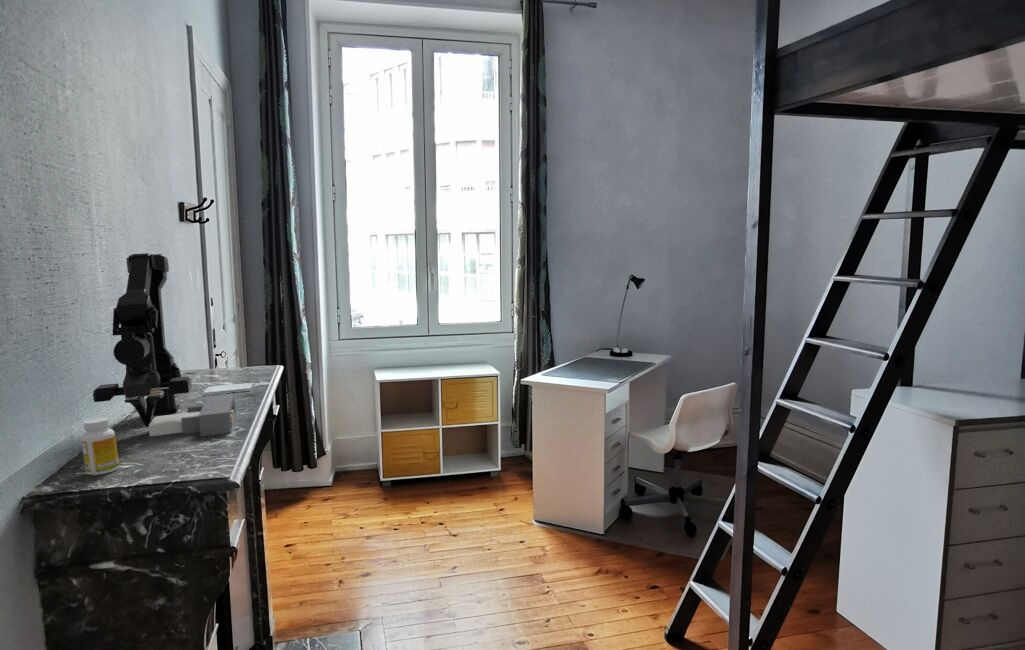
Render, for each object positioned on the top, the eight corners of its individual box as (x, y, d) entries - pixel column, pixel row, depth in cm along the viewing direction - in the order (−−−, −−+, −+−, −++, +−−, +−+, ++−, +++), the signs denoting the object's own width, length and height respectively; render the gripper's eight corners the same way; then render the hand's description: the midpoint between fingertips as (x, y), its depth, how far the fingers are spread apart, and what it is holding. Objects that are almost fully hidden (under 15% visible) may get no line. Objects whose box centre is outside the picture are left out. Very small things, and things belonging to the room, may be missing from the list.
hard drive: (254, 381, 199) (208, 385, 196) (251, 387, 191) (203, 391, 188) (255, 387, 199) (209, 391, 196) (251, 393, 191) (203, 397, 188)
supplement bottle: (125, 465, 130) (119, 415, 129) (108, 475, 125) (101, 423, 124) (98, 466, 130) (91, 416, 129) (79, 476, 125) (72, 424, 124)
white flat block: (156, 427, 157) (155, 416, 157) (203, 421, 160) (202, 411, 160) (149, 436, 150) (148, 425, 149) (199, 430, 153) (198, 419, 152)
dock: (191, 417, 165) (189, 398, 164) (235, 411, 168) (233, 393, 168) (180, 439, 146) (178, 418, 146) (230, 432, 149) (228, 412, 149)
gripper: (81, 368, 140) (91, 442, 142) (181, 359, 146) (189, 430, 148) (95, 359, 151) (104, 428, 153) (188, 352, 157) (195, 418, 159)
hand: (148, 426), depth 153 cm, fingers closed
